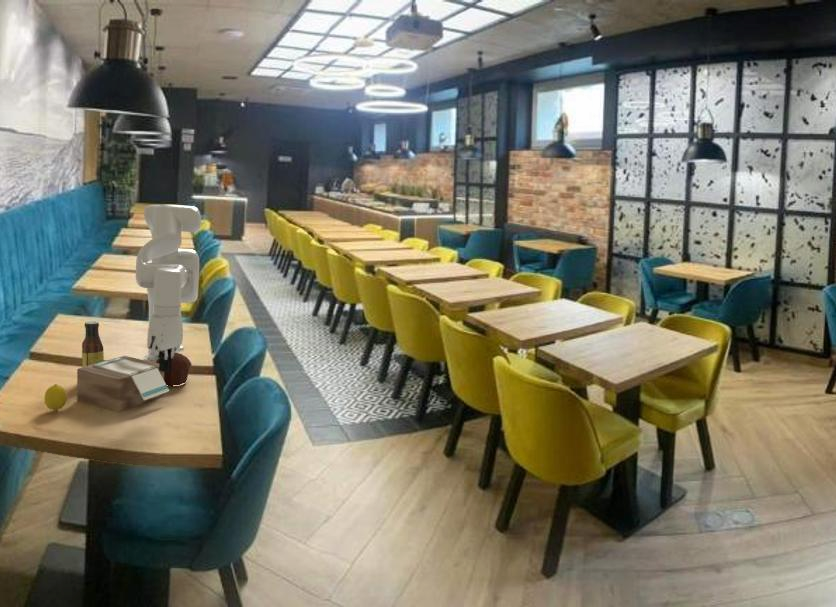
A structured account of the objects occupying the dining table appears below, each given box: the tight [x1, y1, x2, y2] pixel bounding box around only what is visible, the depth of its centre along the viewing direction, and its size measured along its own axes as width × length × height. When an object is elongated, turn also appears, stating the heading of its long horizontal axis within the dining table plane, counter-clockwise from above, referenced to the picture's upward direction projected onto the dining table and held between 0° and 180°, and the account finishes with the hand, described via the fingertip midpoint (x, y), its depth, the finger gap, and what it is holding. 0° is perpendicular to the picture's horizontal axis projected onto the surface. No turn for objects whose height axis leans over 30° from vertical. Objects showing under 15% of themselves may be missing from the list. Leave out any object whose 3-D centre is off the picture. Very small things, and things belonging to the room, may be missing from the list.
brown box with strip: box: [76, 355, 165, 413], centre depth 194 cm, size 18×16×11 cm
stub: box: [132, 368, 170, 400], centre depth 190 cm, size 10×8×1 cm
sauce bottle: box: [81, 320, 105, 368], centre depth 205 cm, size 7×6×20 cm
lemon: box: [44, 384, 68, 412], centre depth 180 cm, size 6×6×8 cm
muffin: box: [156, 352, 192, 386], centre depth 212 cm, size 12×11×10 cm
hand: (165, 370), depth 187 cm, fingers closed
